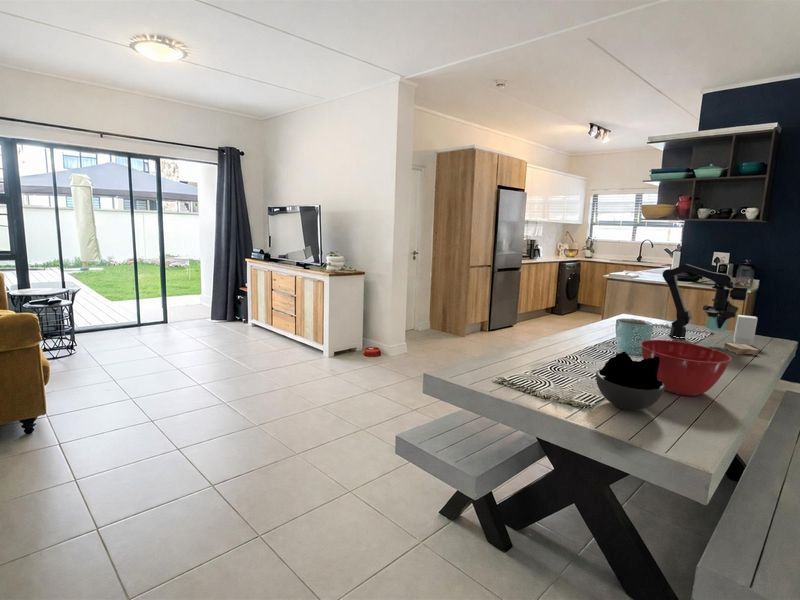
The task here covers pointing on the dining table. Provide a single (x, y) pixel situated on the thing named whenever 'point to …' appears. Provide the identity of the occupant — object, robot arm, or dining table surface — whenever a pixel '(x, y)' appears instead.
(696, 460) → the dining table surface
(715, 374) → the mixing bowl
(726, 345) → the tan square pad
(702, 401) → the dining table surface
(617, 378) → the coal bowl
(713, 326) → the teal block
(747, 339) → the skincare box
